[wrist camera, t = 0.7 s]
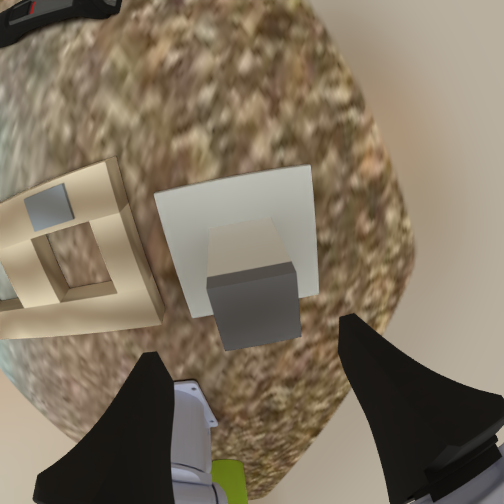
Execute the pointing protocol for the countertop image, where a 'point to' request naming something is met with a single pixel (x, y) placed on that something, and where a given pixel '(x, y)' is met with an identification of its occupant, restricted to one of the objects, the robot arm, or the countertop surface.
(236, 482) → the soap dispenser
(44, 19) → the electric trimmer
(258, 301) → the peg
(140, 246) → the socket plate
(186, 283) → the mat
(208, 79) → the countertop surface
